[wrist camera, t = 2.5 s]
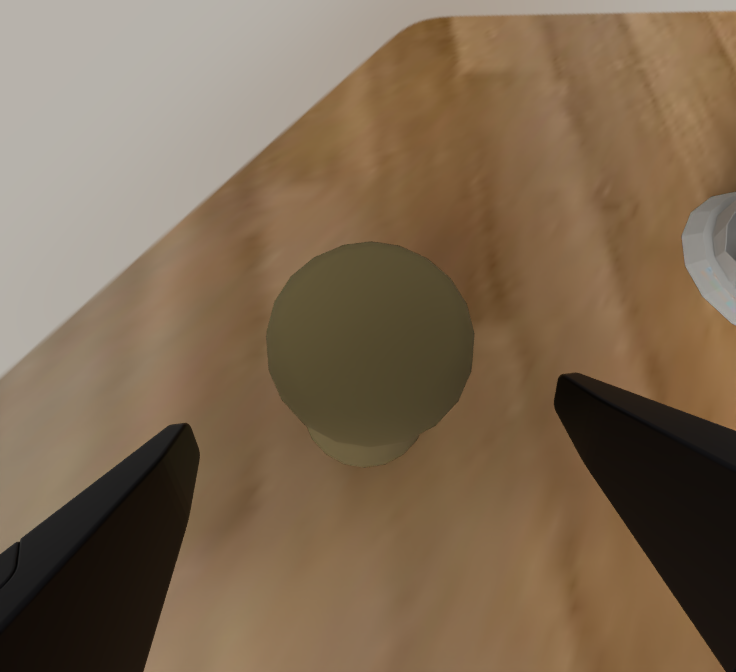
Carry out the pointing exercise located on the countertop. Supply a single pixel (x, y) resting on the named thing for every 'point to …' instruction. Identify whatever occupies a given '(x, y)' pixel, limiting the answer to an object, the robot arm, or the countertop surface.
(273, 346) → the cork
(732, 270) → the french press
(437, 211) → the countertop surface
